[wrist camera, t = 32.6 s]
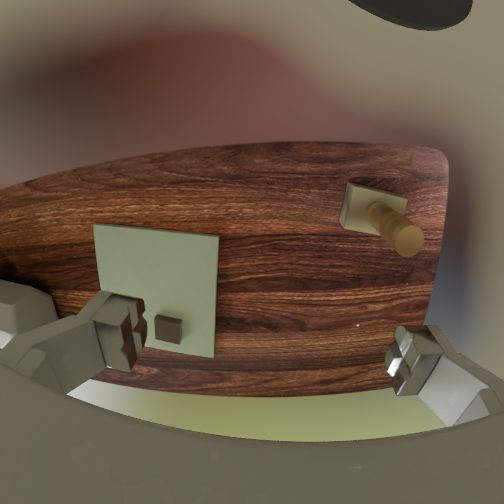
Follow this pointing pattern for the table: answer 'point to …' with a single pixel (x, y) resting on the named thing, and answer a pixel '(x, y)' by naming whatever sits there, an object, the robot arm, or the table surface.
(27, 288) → the grey stepped block
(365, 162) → the table surface
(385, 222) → the stamp
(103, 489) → the robot arm
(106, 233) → the mat
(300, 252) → the table surface
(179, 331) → the brown flat square block
